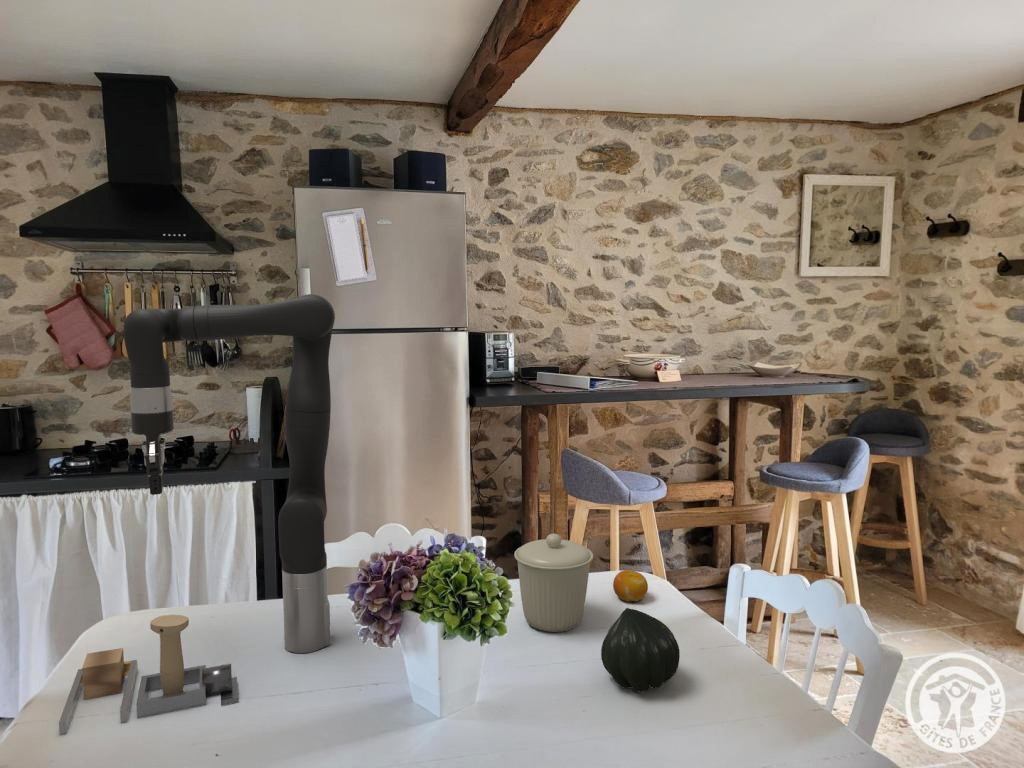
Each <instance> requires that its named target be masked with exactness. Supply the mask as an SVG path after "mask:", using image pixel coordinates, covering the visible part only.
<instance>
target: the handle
mask: <svg viewBox="0 0 1024 768" xmlns="http://www.w3.org/2000/svg"><path fill="white" fill-rule="evenodd" d="M189 624H190V621H189V617H188V616H185V615H183V614H165V615H159V616H157V617H155V618H153V619H152V620H151V621H150V623H149V625H150V627H149V628H150V630H151V631H152V632H153V633H156V634H158V635H159V641H160V642H159V643H160V644H159V645H160V647H159V650H160V651H159V655H160V656H159V657H160V658H159V673H160V680H161V686H162V689H161V690H162V696H164V695H169V694H175V693H180V692H184V690H183V689H184V686H185V685H184V669H185V664H184V656H183V655H184V654H183V649H182V638H181V637H182V636H181V634H182V632H183V631H184V630H186V629H187V627H189Z"/></svg>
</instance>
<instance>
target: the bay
mask: <svg viewBox="0 0 1024 768" xmlns="http://www.w3.org/2000/svg"><path fill="white" fill-rule="evenodd" d="M124 672H125V676H127V678H126V683H125V686H124V690H123V691H124V692H123V695H122V700H121V705H120V709H119V716H120V724H123V723H128V719H129V714H130V709H131V706H132V705H131V704H132V699H133V694H134V690H135V685H136V684H135V683H136V680H137V675H138V659H133V660H128V661H124ZM82 690H83V676H82V668H80V669H77V672H76V674H75V678H74V679H73V682H72V685H71V688H70V691H69V693H68V697H67V698H66V702H65V705H64V707H63V710H62V713H61V715H60V717H59V720H58V729H59V730H58V731H59V736H61V735H66V734H68V731H69V729H70V728H69V727H70V726H71V722H72V719H73V716H74V714H75V710H76V708H77V704H78V701H79V698H80V695H81V693H82Z"/></svg>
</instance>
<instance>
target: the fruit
mask: <svg viewBox="0 0 1024 768" xmlns="http://www.w3.org/2000/svg"><path fill="white" fill-rule="evenodd" d="M613 578H614V579H613V583H612V587H613V591H614V594H615V595H617V597H618V598H619V599H620V600H622V601H624V600H625V602H628V601H635V602H639V601H641V600H642V599H643V598H644V597H645V596H646V595H647V592H648V590H649V585H648V580H647V579H646V577H645V576H644V575H643V574H642V573H641V572H638V571H635V570H631V569H630V570H629V569H626V570H625V569H624V570H622V571H619V572H618V573H617V574H616V575H615V577H613ZM638 600H639V601H638Z"/></svg>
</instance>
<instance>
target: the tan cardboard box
mask: <svg viewBox="0 0 1024 768" xmlns="http://www.w3.org/2000/svg"><path fill="white" fill-rule="evenodd" d="M124 657H125V655H124V647H119V648H114V649H113V648H112V649H107V650H100V651H96V652H89V653H86V657H85V658H84V660H83V661H84V662H83V664H82V667H81V669H82V676H83V687H82V690H83V700H89V699H95V698H101V697H106V696H112V695H116V694H122V691H123V687H124V683H125V679H126V675H125V672H124V662H125V659H124Z"/></svg>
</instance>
